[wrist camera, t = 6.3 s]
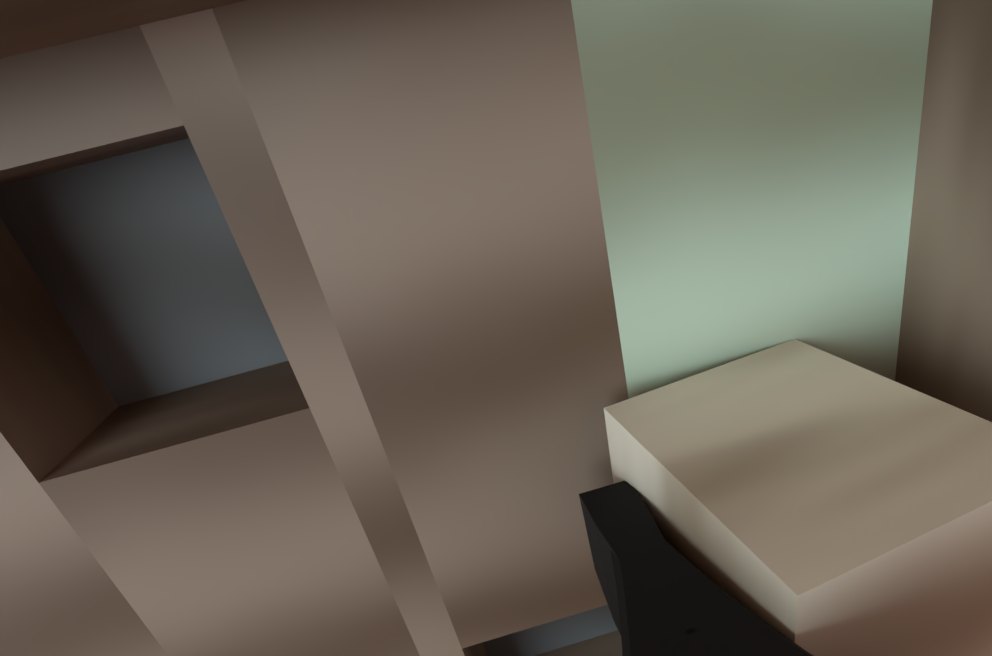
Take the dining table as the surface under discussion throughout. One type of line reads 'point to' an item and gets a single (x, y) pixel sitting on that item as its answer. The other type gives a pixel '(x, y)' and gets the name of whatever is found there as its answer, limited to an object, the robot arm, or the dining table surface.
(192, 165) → the trap box
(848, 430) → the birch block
